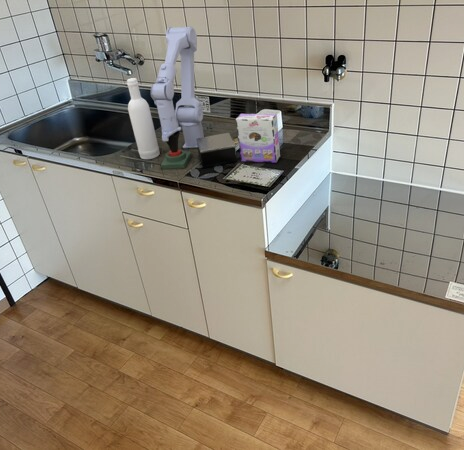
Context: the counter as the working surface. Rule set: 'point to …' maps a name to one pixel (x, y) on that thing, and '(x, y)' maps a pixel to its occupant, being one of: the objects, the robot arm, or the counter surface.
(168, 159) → the green base
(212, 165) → the black boxy piece
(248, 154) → the candy box
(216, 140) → the canister lid
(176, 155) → the timer button
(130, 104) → the bottle
